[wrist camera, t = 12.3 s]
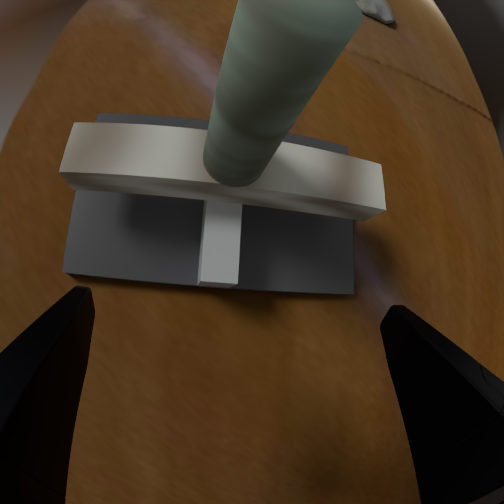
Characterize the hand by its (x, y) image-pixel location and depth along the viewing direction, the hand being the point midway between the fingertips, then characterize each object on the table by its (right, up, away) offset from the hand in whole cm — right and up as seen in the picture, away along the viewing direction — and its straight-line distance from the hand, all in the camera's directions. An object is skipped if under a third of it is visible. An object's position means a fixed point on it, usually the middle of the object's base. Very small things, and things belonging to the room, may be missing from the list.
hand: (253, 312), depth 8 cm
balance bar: (-2, +6, +9) cm, 11 cm away
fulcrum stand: (-2, +5, +13) cm, 14 cm away
